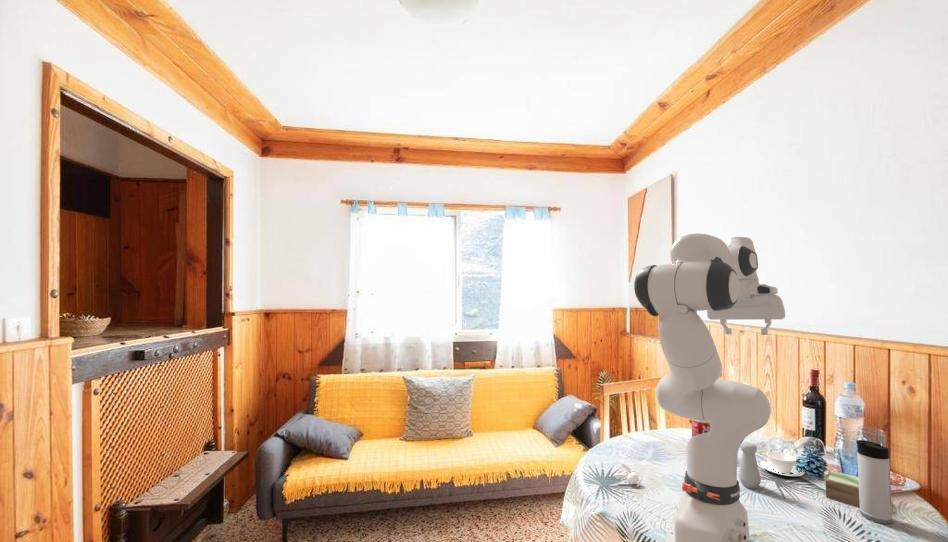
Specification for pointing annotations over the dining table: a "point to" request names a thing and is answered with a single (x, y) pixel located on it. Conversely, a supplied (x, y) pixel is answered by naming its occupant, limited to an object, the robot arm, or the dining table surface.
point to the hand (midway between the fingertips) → (746, 334)
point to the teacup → (779, 463)
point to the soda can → (700, 427)
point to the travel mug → (874, 482)
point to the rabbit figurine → (628, 475)
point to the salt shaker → (749, 466)
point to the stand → (842, 488)
